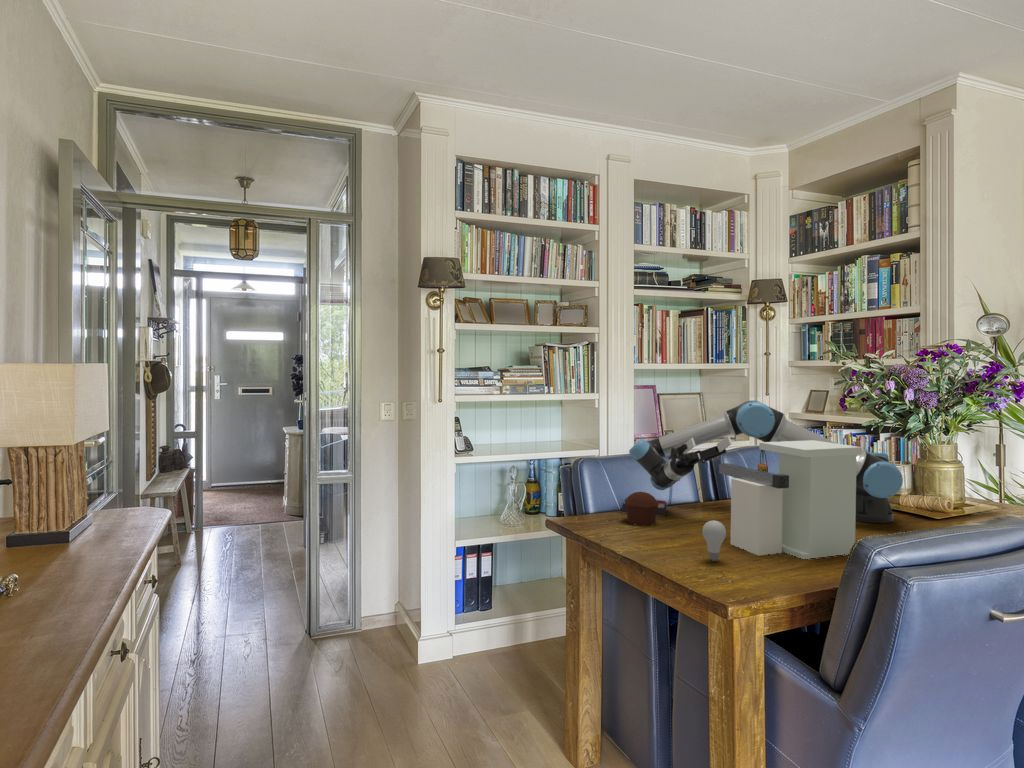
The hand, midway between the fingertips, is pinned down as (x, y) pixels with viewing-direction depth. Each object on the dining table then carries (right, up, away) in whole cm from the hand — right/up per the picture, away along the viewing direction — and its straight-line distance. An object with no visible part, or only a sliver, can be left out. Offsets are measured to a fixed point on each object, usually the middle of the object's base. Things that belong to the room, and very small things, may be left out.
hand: (711, 440), depth 203 cm
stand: (+22, -29, -18) cm, 41 cm away
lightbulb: (-9, -30, -31) cm, 44 cm away
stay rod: (+6, -10, -17) cm, 21 cm away
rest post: (+7, -29, -19) cm, 36 cm away
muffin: (-20, -29, +12) cm, 37 cm away
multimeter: (+41, -28, +54) cm, 74 cm away
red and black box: (-15, -29, +29) cm, 44 cm away
